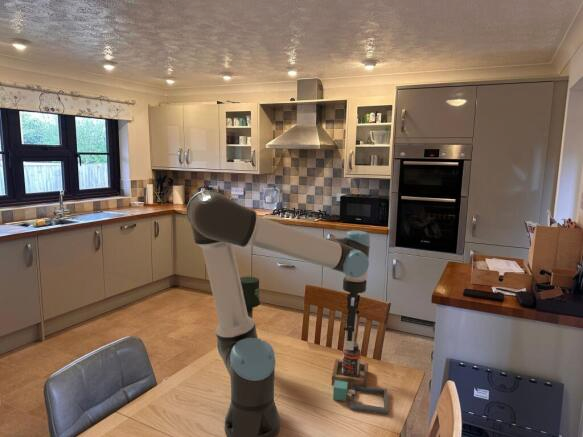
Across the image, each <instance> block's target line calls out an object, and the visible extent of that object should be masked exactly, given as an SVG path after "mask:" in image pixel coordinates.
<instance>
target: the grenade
mask: <svg viewBox="0 0 583 437" xmlns="http://www.w3.org/2000/svg"><path fill="white" fill-rule="evenodd" d="M240 280H241V285H242V290H243V295H244V300H245V304H246V309H247V314H248V317H250V318H252V319H253V310H254V308H257V307H259V306H260V304H261V300H260V279H259V278H257V277H254V276H242V277H240Z"/></svg>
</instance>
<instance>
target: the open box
mask: <svg viewBox="0 0 583 437" xmlns="http://www.w3.org/2000/svg"><path fill="white" fill-rule="evenodd" d="M342 362H343V359H336V358H335V360H334V365H333V370H332V374H331V385H333V386H334V383H335V380H337V381H344V382H348V387H349V388H352V384H353V385H360V386H368V380H369V379H368V377H369V363H368V362H361V361H360V374H359V377H350V376H343V375H342Z"/></svg>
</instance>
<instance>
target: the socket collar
mask: <svg viewBox="0 0 583 437" xmlns="http://www.w3.org/2000/svg"><path fill="white" fill-rule="evenodd" d="M351 390H355V392H361V393H368V394H375V395H376V394H377V395H382V396H383V406H377V405H376V406H375V405H370V404H364V403H355V395H356V394H355V395H354V394H350V400H349V410H353V411H360V412H361V411H362V412H367V413H372V414H373V413H374V414H379V415H380V414H381V415H387V416H388V414H389V402H388V388H383V387H382V388H381V387H374V386H368V385H367V386H360V385H353V384H352V387H351Z"/></svg>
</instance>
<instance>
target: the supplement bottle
mask: <svg viewBox="0 0 583 437" xmlns="http://www.w3.org/2000/svg"><path fill="white" fill-rule="evenodd" d="M361 356H362V352H361V350H360V349H359V343H358V342H356V341H354V347H353V350H346V349H345V347H344V349H343V351H342V360H343V362H342V375H343V376H350V377H359V374H360V362H361Z"/></svg>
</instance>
